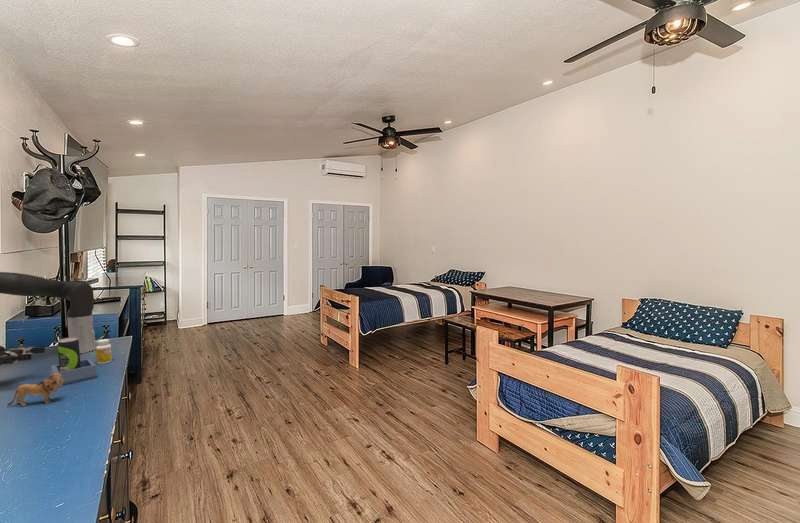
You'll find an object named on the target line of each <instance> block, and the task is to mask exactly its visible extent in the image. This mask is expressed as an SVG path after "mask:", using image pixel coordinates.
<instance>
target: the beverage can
mask: <svg viewBox="0 0 800 523" xmlns="http://www.w3.org/2000/svg"><path fill="white" fill-rule="evenodd" d="M57 342H58V343H57V353H58V355H57V356H58V364H59V368H60V372H62V371H66V370H72V369H76V368H81V363H80V360H81V354H80V349H79V340H78V338H76V337H70V338H69V337H66V338H65V337H64V338H61V339H59V340H58V341H57Z"/></svg>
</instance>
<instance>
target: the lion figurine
mask: <svg viewBox="0 0 800 523" xmlns="http://www.w3.org/2000/svg"><path fill="white" fill-rule="evenodd" d="M63 382H64V381H63V377H62V375H60V374H58V373H57V374H53V375H52V374H51V375H49V376H48V377H47V378H45V379H43V380H41V381H40V382H39V383H36V384H29V383H26V384H21V385H19V386H17V387H16V389H15V391H14V395H13V397H12V400H11V401H10V402H9V403H8V404H7V407H8V406H11V405H12V404H14V402H15V403H16V404H17V403H20V405H21V407H26V406H28V404H27V403H25V402H24V399H25V396H26V395H27V394H28V395H31V396H40V395H42V396H43V401H44V403H45V404H49V403H48V402H50V403H51V400H52V397H50V395H51V394H52V393H56V391H57V390H58V389H59V388H60V387H62V386H63V385H62V384H63ZM50 399H51V400H50ZM25 405H26V406H25Z"/></svg>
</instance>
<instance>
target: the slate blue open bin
mask: <svg viewBox="0 0 800 523" xmlns="http://www.w3.org/2000/svg"><path fill="white" fill-rule="evenodd" d="M80 363H81V368H76V369H72V370H66V371H62V372H60V368H59V363H58V364H53V365H50V366H51V367H50V368H51V375H53V374H57V373H58V374H60V375H62V377H63V381H64V382H63V384H62V386H66V385H65V384H67V385H70V384H69V383H71V384H75V383H79V381H80V382H82V381H83V380H84V381H88V380H87V379H89V380H93V379H97V378H98V375H97V374H98V373H97V364H95V362H94V361H93V360H92V358H86V359H85V358H84V359H80ZM74 382H75V383H74Z"/></svg>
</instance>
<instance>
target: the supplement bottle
mask: <svg viewBox="0 0 800 523" xmlns="http://www.w3.org/2000/svg"><path fill="white" fill-rule="evenodd" d="M95 347H96V350H95V354H96V355H95V356H96V363H97V364H99V365H102V364H104V363H105V364H108V363H111V362H112V361H113V354H112V352H113V351H112V345H111V343H110V339H108V338H104V339H103V338H101V339H100V340H99V339H98V340H97V346H95ZM105 364H104V365H105Z"/></svg>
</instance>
